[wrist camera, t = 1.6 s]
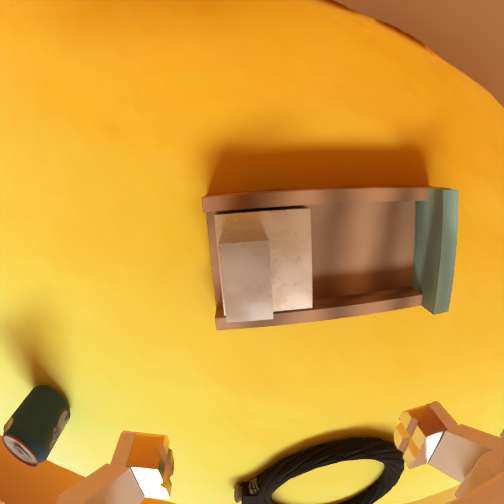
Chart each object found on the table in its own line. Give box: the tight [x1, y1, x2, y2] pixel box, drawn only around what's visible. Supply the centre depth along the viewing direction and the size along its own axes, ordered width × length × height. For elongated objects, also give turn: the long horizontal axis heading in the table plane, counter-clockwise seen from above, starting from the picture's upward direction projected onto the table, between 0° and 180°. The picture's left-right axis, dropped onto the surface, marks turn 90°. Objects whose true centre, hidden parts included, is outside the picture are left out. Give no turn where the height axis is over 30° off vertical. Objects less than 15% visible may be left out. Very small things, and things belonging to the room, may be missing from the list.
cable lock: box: [234, 438, 404, 504], centre depth 39 cm, size 28×4×30 cm
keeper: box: [214, 206, 312, 323], centre depth 25 cm, size 8×9×7 cm
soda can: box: [2, 385, 70, 467], centre depth 29 cm, size 7×7×12 cm
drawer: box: [202, 186, 458, 330], centre depth 27 cm, size 24×12×6 cm, turn 94°
